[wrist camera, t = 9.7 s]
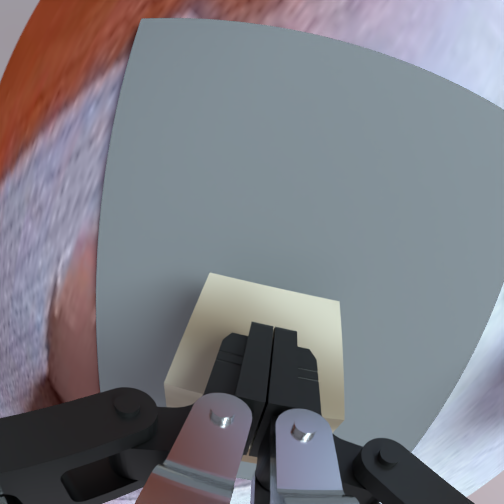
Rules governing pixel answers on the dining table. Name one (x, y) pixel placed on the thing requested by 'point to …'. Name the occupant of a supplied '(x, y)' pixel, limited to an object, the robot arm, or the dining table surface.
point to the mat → (301, 208)
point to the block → (239, 321)
